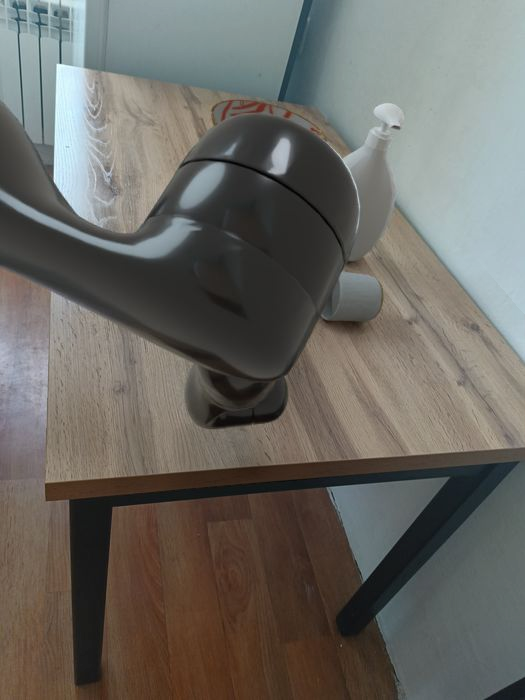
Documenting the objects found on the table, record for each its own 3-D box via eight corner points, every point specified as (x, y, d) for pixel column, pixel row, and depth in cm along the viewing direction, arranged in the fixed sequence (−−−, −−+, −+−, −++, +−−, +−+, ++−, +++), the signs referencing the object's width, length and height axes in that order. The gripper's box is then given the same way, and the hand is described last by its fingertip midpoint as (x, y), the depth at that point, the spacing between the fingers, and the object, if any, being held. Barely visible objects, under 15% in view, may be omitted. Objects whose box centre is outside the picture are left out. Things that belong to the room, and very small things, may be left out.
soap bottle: (296, 263, 93) (352, 105, 74) (292, 236, 98) (343, 84, 80) (374, 277, 96) (447, 129, 77) (366, 251, 101) (431, 107, 83)
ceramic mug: (374, 331, 84) (394, 292, 79) (327, 331, 81) (344, 291, 76) (349, 288, 91) (366, 251, 86) (305, 287, 88) (320, 248, 83)
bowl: (337, 186, 118) (350, 152, 113) (244, 197, 104) (253, 158, 99) (274, 132, 131) (283, 99, 125) (182, 135, 117) (188, 98, 111)
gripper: (283, 273, 66) (264, 204, 78) (167, 260, 62) (164, 189, 74) (268, 318, 71) (252, 247, 83) (160, 308, 68) (158, 235, 79)
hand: (210, 220), depth 78 cm, fingers open, 8 cm apart
